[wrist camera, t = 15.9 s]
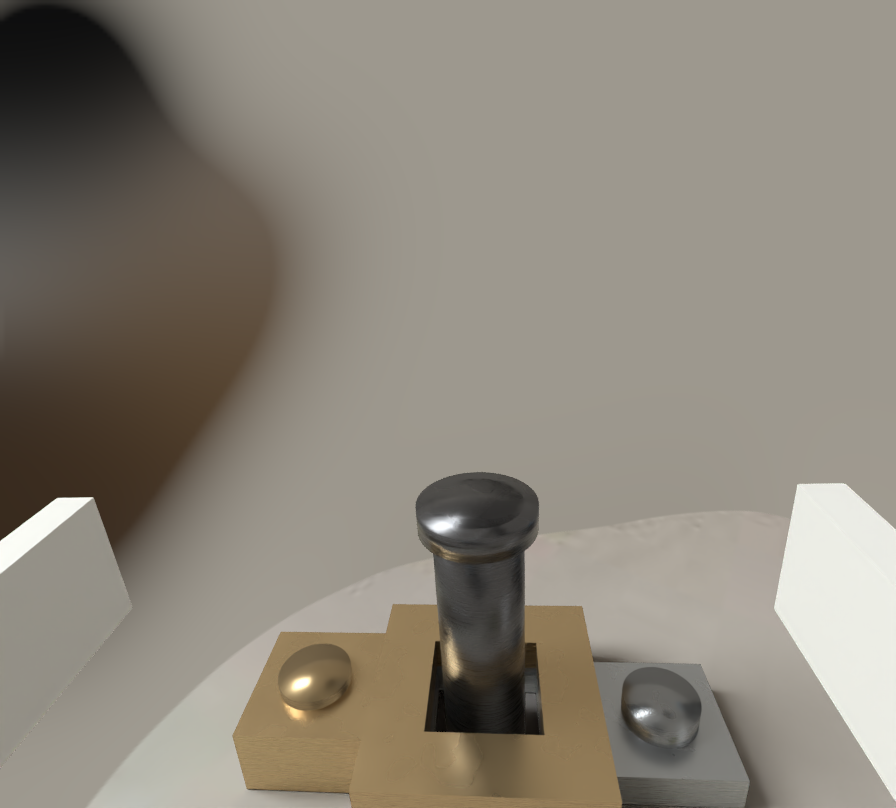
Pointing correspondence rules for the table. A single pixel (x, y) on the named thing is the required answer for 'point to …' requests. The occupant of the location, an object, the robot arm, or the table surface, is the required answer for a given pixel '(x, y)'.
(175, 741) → the table surface
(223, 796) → the table surface
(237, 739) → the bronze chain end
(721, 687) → the table surface
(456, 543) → the black pin
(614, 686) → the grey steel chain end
